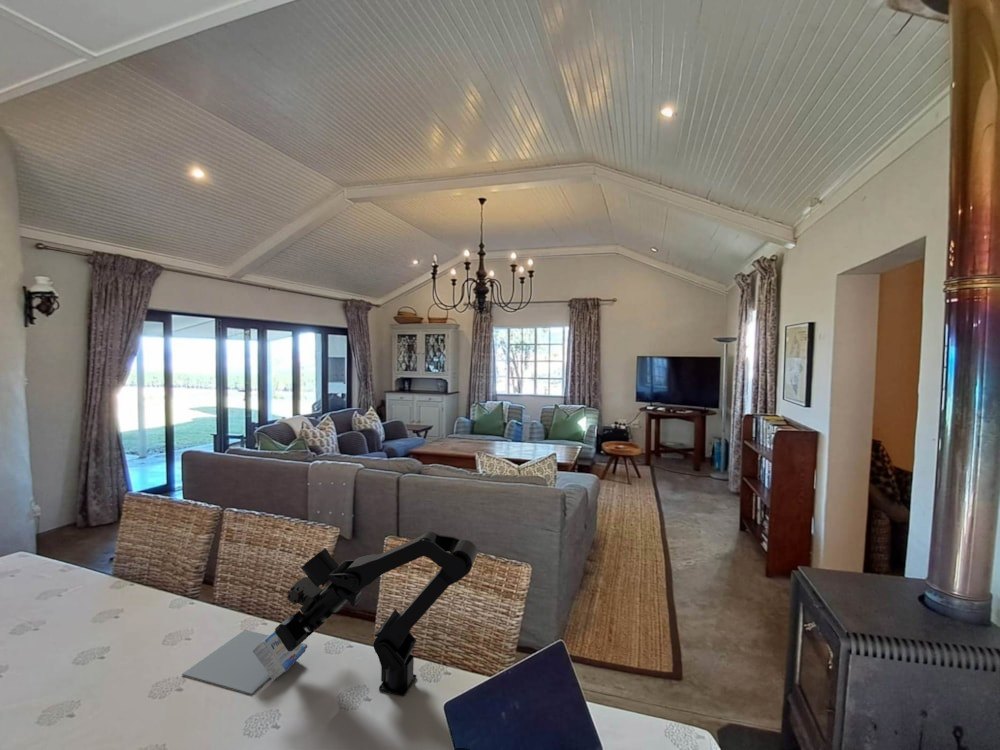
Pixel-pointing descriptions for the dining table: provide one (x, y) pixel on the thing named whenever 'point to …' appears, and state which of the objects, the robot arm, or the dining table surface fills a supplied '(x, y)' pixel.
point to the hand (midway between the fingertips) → (291, 634)
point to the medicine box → (276, 655)
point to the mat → (234, 665)
